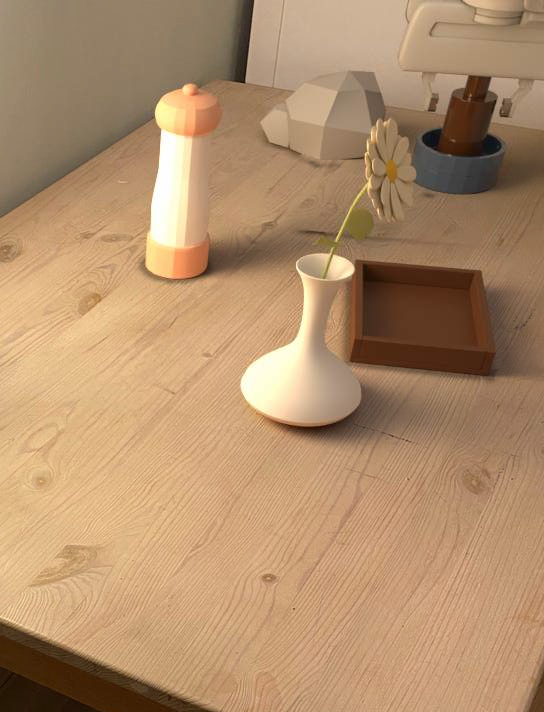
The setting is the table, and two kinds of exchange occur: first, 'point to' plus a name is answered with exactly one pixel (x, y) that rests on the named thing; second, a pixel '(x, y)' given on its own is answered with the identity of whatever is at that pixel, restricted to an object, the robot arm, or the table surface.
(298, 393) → the flower in vase
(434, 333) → the tray
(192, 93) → the pepper shaker
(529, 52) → the robot arm
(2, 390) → the table surface
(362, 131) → the rock
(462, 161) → the bowl
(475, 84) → the bottle
